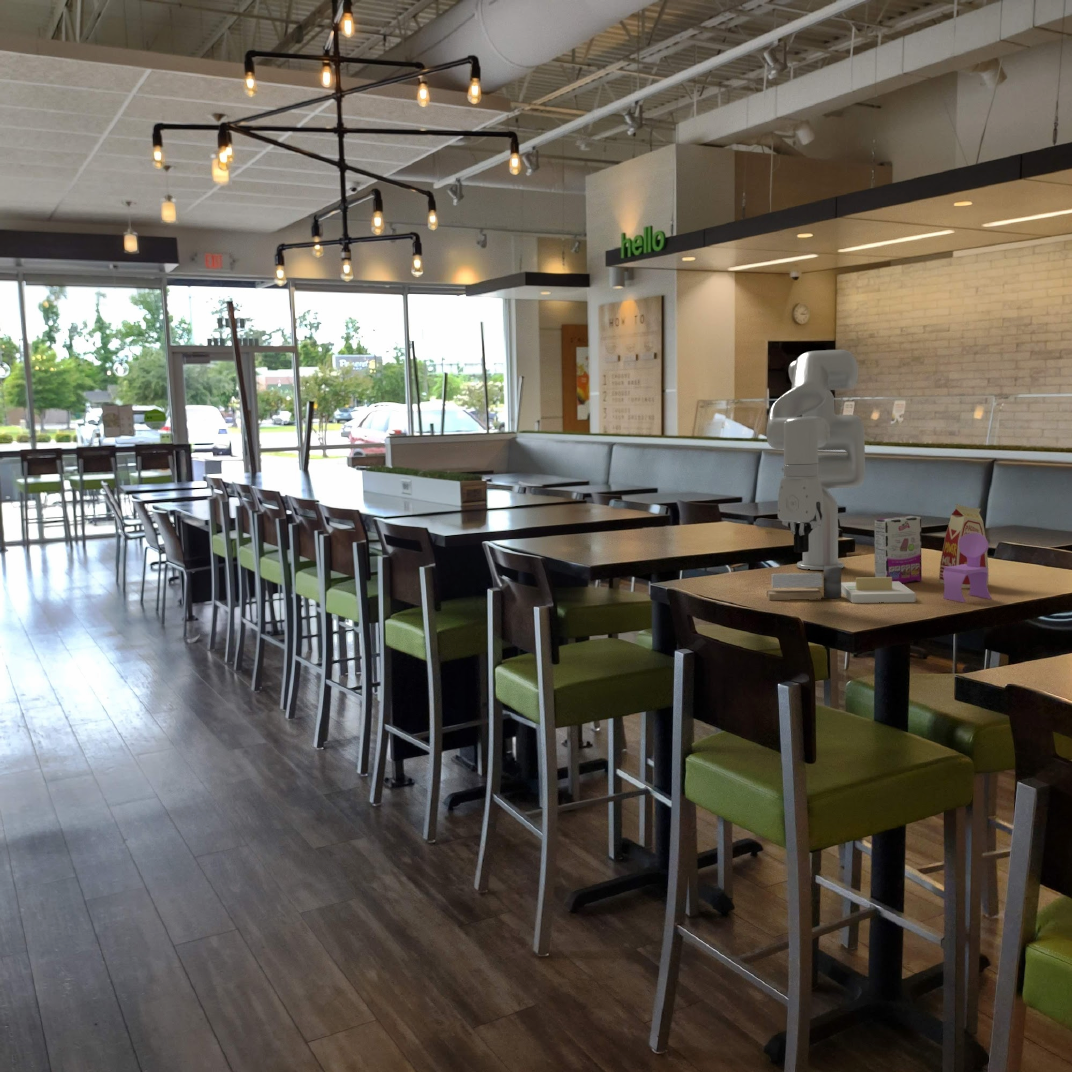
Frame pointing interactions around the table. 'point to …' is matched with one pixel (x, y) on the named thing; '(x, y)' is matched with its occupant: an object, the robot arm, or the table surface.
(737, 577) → the table surface
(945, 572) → the toy chair
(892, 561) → the candy bar box
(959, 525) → the milk carton
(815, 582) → the swing bar
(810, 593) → the jamb
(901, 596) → the butter dish
